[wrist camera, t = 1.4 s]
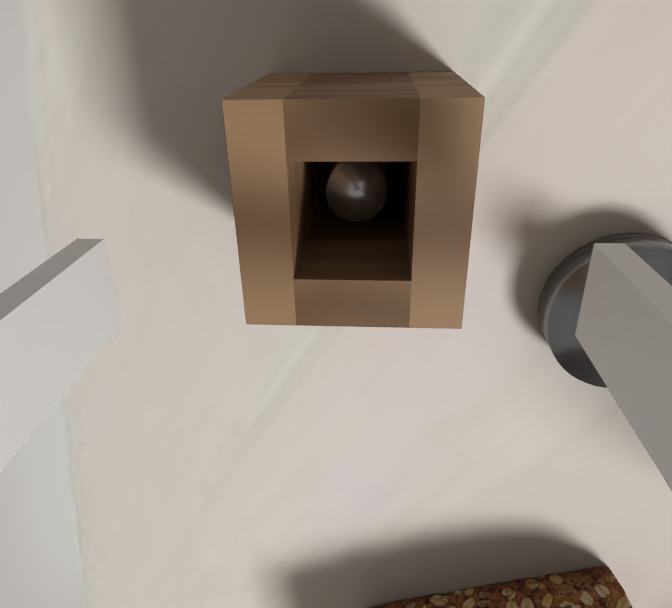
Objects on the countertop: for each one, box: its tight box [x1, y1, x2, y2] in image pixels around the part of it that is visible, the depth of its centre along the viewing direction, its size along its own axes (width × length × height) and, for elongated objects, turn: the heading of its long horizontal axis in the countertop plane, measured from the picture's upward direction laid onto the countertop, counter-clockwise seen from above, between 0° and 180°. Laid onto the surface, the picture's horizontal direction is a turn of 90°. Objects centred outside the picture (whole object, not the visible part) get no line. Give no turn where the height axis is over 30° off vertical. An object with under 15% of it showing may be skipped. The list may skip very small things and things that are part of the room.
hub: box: [538, 233, 672, 388], centre depth 25 cm, size 8×8×7 cm
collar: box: [222, 72, 485, 329], centre depth 22 cm, size 8×8×8 cm
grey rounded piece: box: [326, 162, 387, 222], centre depth 24 cm, size 2×2×4 cm
